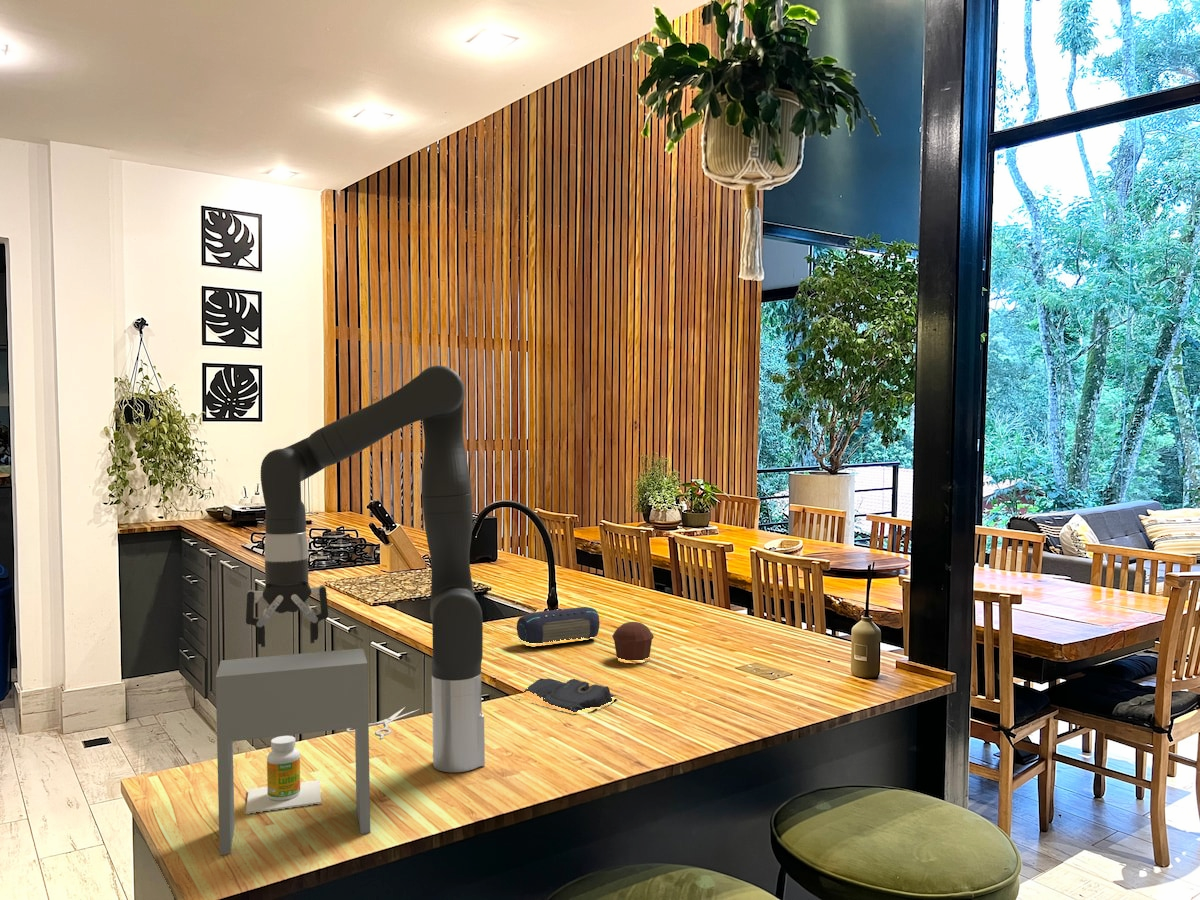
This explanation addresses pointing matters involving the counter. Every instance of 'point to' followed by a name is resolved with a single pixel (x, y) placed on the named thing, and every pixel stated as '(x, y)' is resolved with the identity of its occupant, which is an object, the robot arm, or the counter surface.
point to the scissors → (385, 724)
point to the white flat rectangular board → (262, 802)
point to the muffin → (633, 641)
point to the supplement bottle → (283, 769)
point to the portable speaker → (558, 625)
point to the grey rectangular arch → (290, 713)
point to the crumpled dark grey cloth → (571, 693)
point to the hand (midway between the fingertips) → (288, 644)
